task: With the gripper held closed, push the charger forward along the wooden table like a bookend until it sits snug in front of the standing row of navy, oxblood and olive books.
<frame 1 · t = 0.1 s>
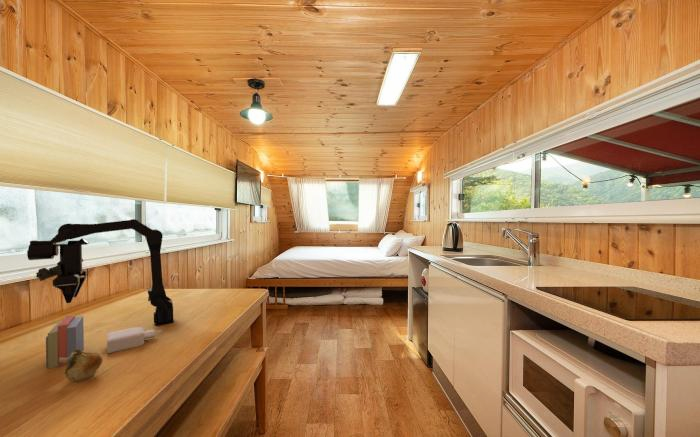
hand: (71, 299, 102), 15 cm above the table, tool pointing down, fingers open, 9 cm apart
onion: (83, 378, 77), on the table
book row: (67, 357, 89), on the table
charger: (135, 344, 99), on the table
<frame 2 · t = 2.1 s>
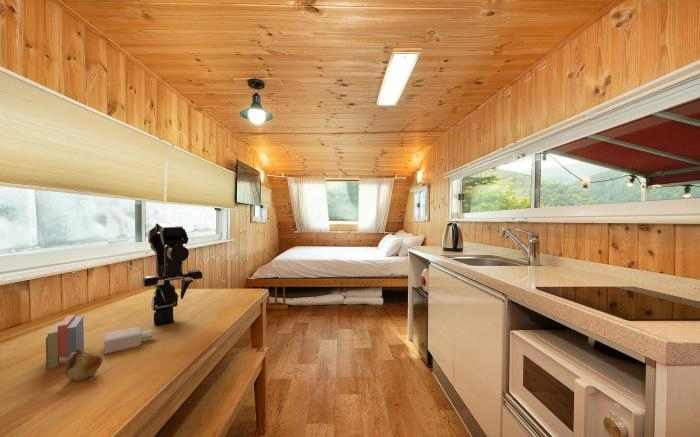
hand: (173, 300, 106), 13 cm above the table, tool pointing down, fingers open, 5 cm apart
nothing on the table moved.
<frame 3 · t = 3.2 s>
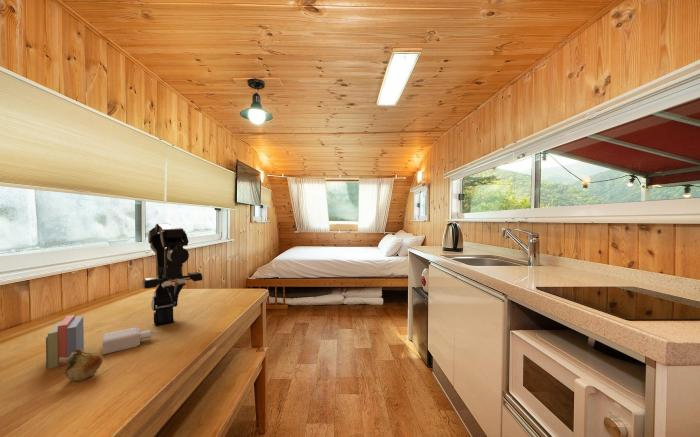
hand: (174, 302, 106), 12 cm above the table, tool pointing down, fingers closed
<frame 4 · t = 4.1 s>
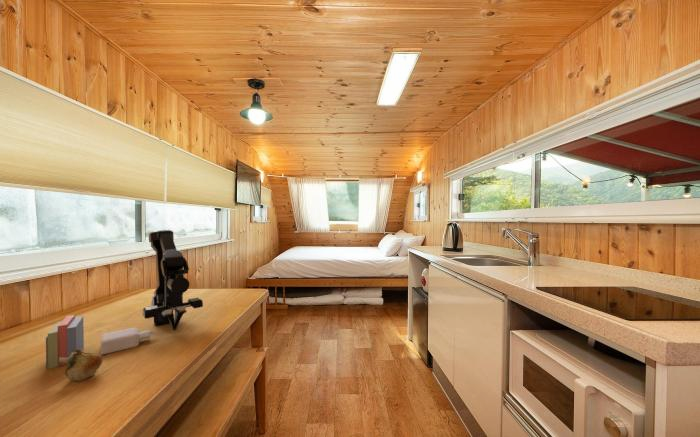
hand: (174, 329, 106), 2 cm above the table, tool pointing down, fingers closed
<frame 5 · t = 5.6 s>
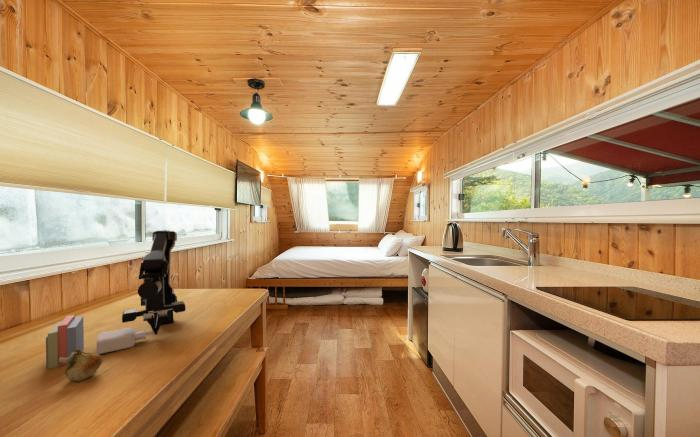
hand: (155, 334, 102), 2 cm above the table, tool pointing down, fingers closed
charger: (126, 345, 98), on the table, touching gripper
everything else where it was.
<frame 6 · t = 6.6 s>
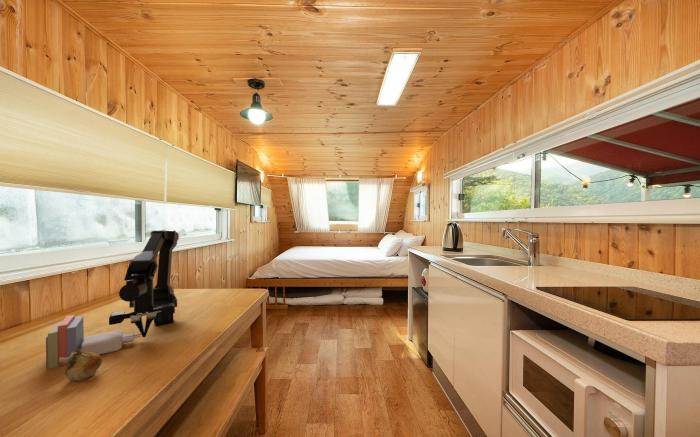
hand: (144, 336, 100), 2 cm above the table, tool pointing down, fingers closed
charger: (113, 348, 96), on the table
everything else where it was.
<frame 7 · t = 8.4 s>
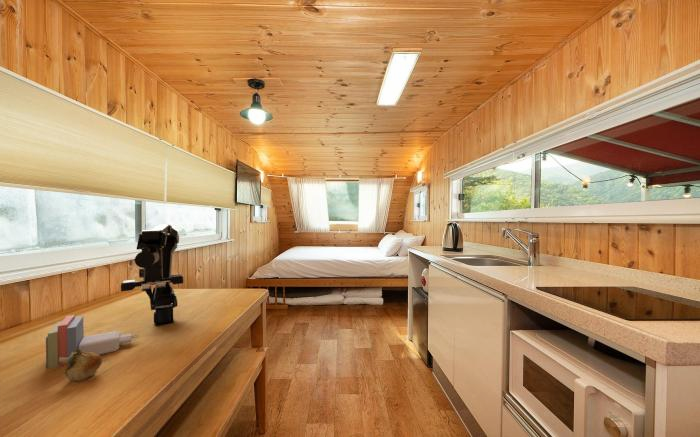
hand: (153, 305, 104), 12 cm above the table, tool pointing down, fingers closed
nothing on the table moved.
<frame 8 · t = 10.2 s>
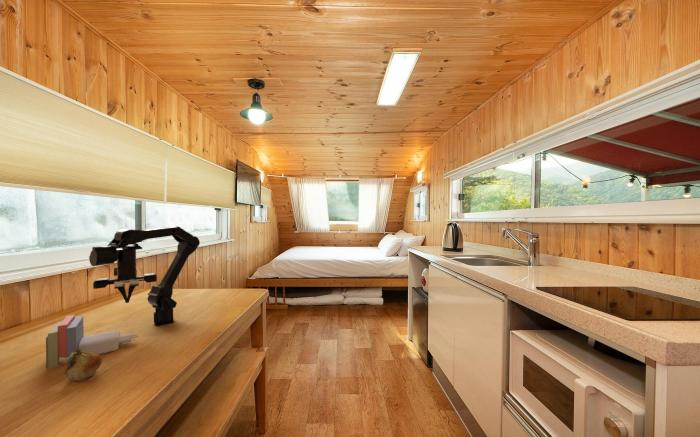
hand: (127, 302, 107), 12 cm above the table, tool pointing down, fingers closed
nothing on the table moved.
at the end: charger 2.2 cm from the target spot, on the table; charger moved 7.0 cm from its start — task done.
